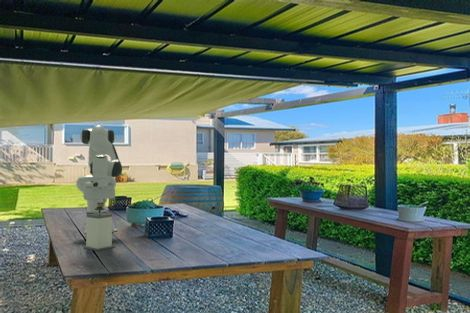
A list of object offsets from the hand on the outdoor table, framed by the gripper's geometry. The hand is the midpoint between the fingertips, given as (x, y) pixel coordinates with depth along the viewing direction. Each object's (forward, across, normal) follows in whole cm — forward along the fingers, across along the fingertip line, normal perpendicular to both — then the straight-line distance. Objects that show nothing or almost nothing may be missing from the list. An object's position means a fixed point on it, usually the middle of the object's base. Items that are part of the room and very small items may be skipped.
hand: (99, 207), depth 251 cm
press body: (+24, 0, 0) cm, 24 cm away
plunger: (+16, 0, 0) cm, 16 cm away
